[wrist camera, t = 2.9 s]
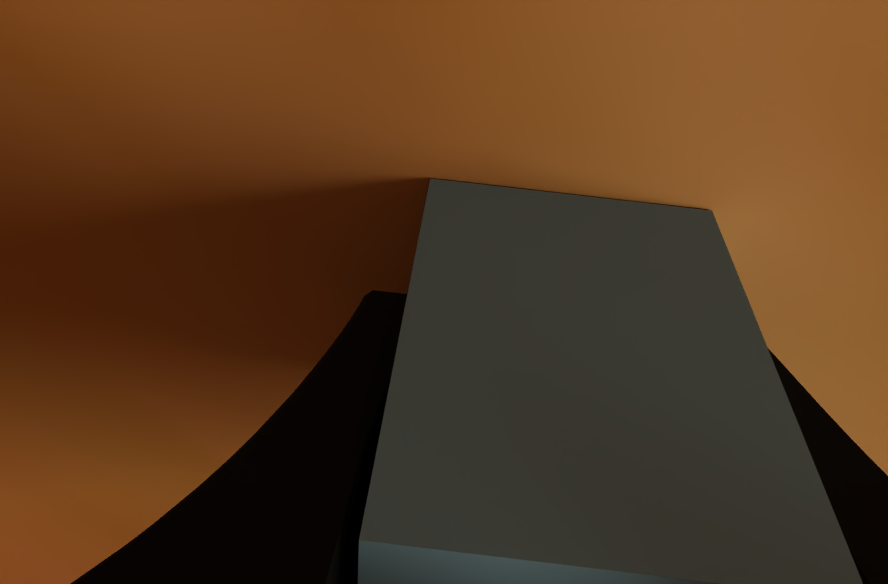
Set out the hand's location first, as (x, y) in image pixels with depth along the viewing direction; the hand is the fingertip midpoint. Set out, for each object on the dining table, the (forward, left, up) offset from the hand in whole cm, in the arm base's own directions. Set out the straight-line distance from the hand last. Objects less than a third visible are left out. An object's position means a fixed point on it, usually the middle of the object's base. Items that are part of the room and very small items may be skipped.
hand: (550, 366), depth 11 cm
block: (0, 0, -1) cm, 1 cm away
